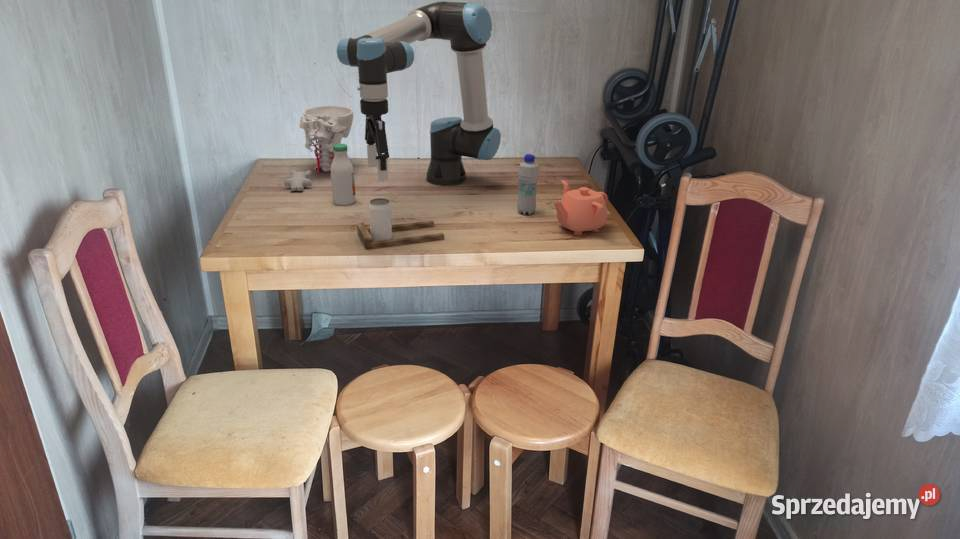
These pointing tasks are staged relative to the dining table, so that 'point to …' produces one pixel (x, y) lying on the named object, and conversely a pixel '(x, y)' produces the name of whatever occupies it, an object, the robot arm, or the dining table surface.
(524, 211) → the bottle
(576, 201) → the orange rounded piece
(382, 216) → the can
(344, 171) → the milk bottle
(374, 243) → the guide
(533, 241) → the dining table surface
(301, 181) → the grey lumpy figure
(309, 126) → the skull
